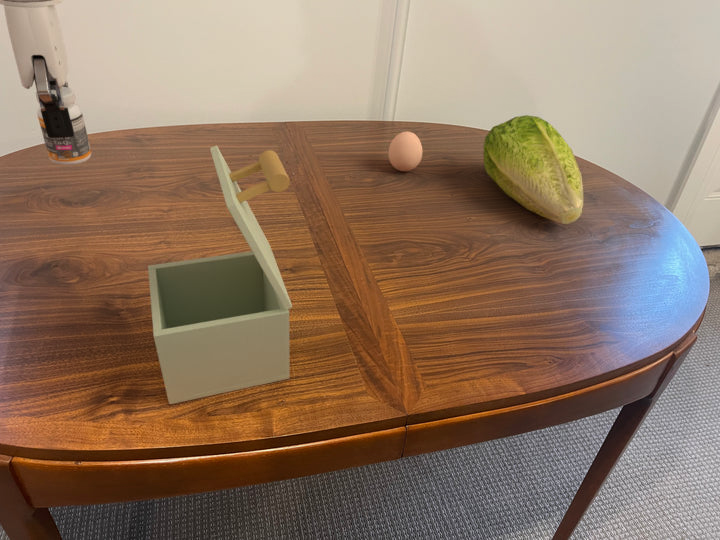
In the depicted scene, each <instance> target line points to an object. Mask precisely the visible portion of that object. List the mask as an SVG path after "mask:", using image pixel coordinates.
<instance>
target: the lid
mask: <svg viewBox="0 0 720 540" xmlns="http://www.w3.org/2000/svg"><path fill="white" fill-rule="evenodd" d="M209 150H210V154H211V157H212V161H213V165H214V168H215V171H216V174H217V178H218V181H219V184H220V188H221V192H222V196H223V198H224V201H225V205H226V208H227V210H228V212H229V213H230V215H231V217H232V219H233V220H234V222H235V224H236V226H237V227H238V229H239V231H240V233H241V235H242V236H243V238H244V240H245V241H246V243H247V245H248V247H249V248H250V250H251V251H252V252H253V254H254V255H255V257H256V259H257V261H258V262H259V264H260V266H261V268H262V269H263V271H264V273H265V275H266V276H267V278H268V280H269V282H270V283H271V285H272V287H273V289H274V290H275V292H276V294H277V296H278V297H279V299H280V301H281V303H282V304H283V306H284V308H285V310H290V309H292V308H293V304H292V301H291V298H290V296H289V293H288V290H287V287H286V285H285V282H284V280H283V277H282V275H281V272H280V269H279V267H278V263H277V261H276V258H275V255H274V253H273V249H272V247H271V244H270V242H269V240H268V239H267V237H266V235H265V233H264V231H263V229H262V228H261V226H260V224H259V221H258V220H257V217H256V216H255V214H254V212H253V210H252V209H251V207H250V205H249V203H248V200H250V199H253V198H254V197H257V196H259V195H261V194H264V193H267V192H268V191H270V190H271V191H273V192H274V193H282V192H284V191H286V190H287V189H288V188H289V186H290V177H289V176H288V174H287V172H286V171H287V170H286V169H285V167H284V165H283V163H282V161H281V159H280V157H279V154H278V153H277V152H275V150H271V149H267V150H264V151H262V152H261V153H260V155H259V157H258V161H256V162H253V163H251V164H249V165H247V166H243V167H242V168H239V169H237V170H235V171H233V172H232V171H231V169H230V168H229V165H228V164H227V161H226V160H225V158H224V156H223V154H222V151H221V150H220V149H219V147H218V145H214V146H212V147H209ZM260 171H262V173H263V176H264V177H265V180H264V181H262V182H260V183H258V184H255V185H253V186H251V187H249V188H246V189H244V190H242V189H241V188H240V186H239V184H238V182H237V181H239V180H241V179H242V180H243V179H244V178H246V177H248V176H251V175H253V174H256V173H257V172H260Z"/></svg>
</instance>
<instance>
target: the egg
mask: <svg viewBox="0 0 720 540" xmlns="http://www.w3.org/2000/svg"><path fill="white" fill-rule="evenodd" d="M423 152H424V151H423V146H422V142H421V140H420V138H419V137H418V135H416V134H415V133H414V132H411V131H401V132H400V133H398V134H397V135H396V136H395V137H394V138H393V139H392V141H391V142H390V143H389V147H388V153H387V154H388V160H389V162H390V164H391V166H392V167H393V168H394V169H396V170H397V171H400V172H410V171H413V170H414V169H416V167H418V166H419V164H420V163H421V161H422V158H423Z"/></svg>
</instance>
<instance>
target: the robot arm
mask: <svg viewBox="0 0 720 540" xmlns="http://www.w3.org/2000/svg"><path fill="white" fill-rule="evenodd" d="M63 2H64V0H0V5H2V6H3V8H4V9H3V10H4V16H5V22H6V26H7V31H8V35H9V40H10V43H11V47H12V51H13V55H14V59H15V63H16V67H17V71H18V76H19V79H20V83H21V86H22V87H23V88H24V89H26V90H30V88H33V85H35V90H36V92H37V94H38V99H39V103H40V104H39V103H38V104H39V108H41V113H42V117H43V121H44V124H45V128H46V131H47V135H48V137H49V138H63V137H73V135H74V131H73V128H72V124H71V120H70V116H69V112H68V108H65V106H64V101H63V96H62V91H61V87H68V88H70V87H69V82H68V80H67V76H68V70H69V63H68V57H67V52H66V51H67V50H66V46H65V42H64V38H63V37H64V36H63V33H62V28H61V25H60V21H59V16H58V13H57V8H56V5H59V4H61V3H63ZM51 90H56V94H57V96H55V94H52V92H51Z"/></svg>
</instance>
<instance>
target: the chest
mask: <svg viewBox="0 0 720 540" xmlns="http://www.w3.org/2000/svg"><path fill="white" fill-rule="evenodd" d="M147 271H148V282H149V295H150V297H149V298H150V309H151V321H152V322H151V323H152V334H153V340H154V343H155V344H154V345H155V348H156V353H157V357H158V362H159V366H160V370H161V375H162V379H163V380H162V381H163V385H164V388H165V393H166V397H167V401H168V404H169V405H174V404H180V403H184V402H188V401H193V400H197V399H202V398H206V397H211V396H217V395H220V394H225V393H230V392H234V391H239V390H243V389H248V388H254V387H257V386H262V385H266V384H267V385H268V384H271V383H275V382H281V381H286V380H290V379H291V378H290V376H291V375H290V372H291V371H290V369H291V368H290V367H291V366H290V364H291V363H290V361H291V360H290V309H288V310H285V308H284V306H283V304H282V303H281V301H280V299H279V297H278V296H277V294H276V292H275V290H274V289H273V287H272V285H271V283H270V282H269V280H268V278H267V276H266V275H265V273H264V271H263V269H262V268H261V266H260V264H259V262H258V261H257V259H256V257H255V255H254V254H253V252H252V250H251V251H244V252H236V253H228V254H221V255H214V256H208V257H200V258H193V259H186V260H178V261H172V262H171V261H170V262H163V263H158V264H157V263H156V264H149V265H147Z"/></svg>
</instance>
